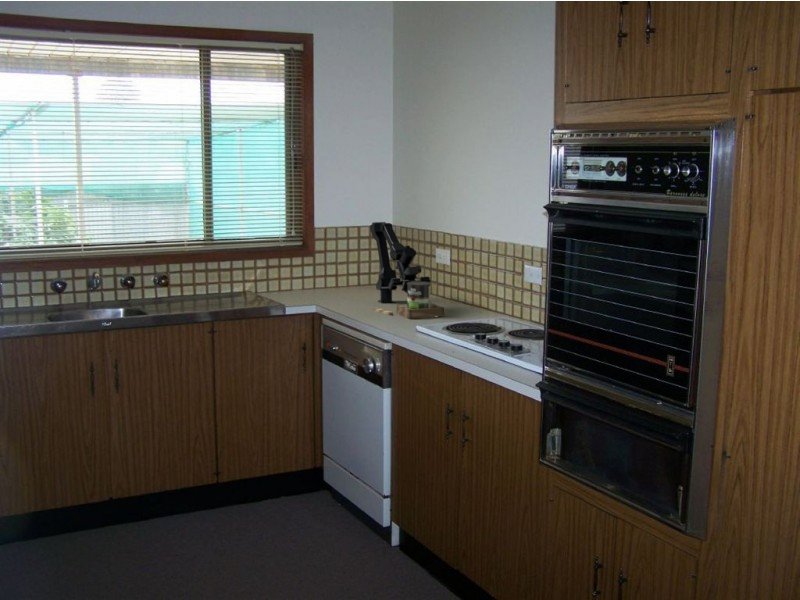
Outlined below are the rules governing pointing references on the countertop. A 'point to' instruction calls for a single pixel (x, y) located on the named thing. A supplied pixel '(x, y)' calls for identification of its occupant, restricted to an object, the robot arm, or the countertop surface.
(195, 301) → the countertop surface
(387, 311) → the oak stirring stick
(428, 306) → the coffee can
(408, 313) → the walnut cubby
